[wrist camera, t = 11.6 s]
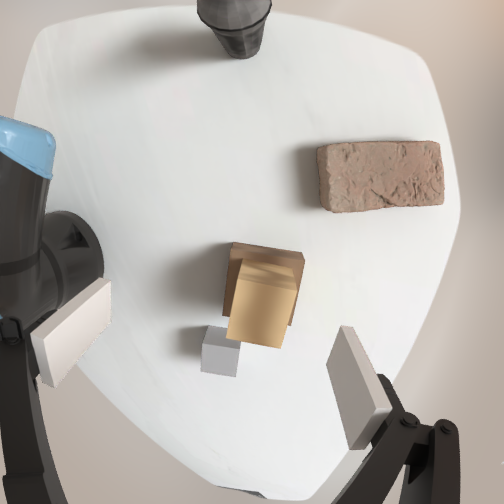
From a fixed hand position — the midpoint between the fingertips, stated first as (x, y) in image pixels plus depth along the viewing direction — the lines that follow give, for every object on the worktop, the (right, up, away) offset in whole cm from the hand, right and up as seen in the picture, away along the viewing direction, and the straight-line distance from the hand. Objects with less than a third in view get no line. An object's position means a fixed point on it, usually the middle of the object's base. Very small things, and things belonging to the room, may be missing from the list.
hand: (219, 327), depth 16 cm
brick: (+18, +14, +21) cm, 31 cm away
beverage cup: (+1, +31, +16) cm, 35 cm away
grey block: (-2, -9, +28) cm, 29 cm away
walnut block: (+3, 0, +25) cm, 25 cm away
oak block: (+3, -1, +21) cm, 21 cm away
